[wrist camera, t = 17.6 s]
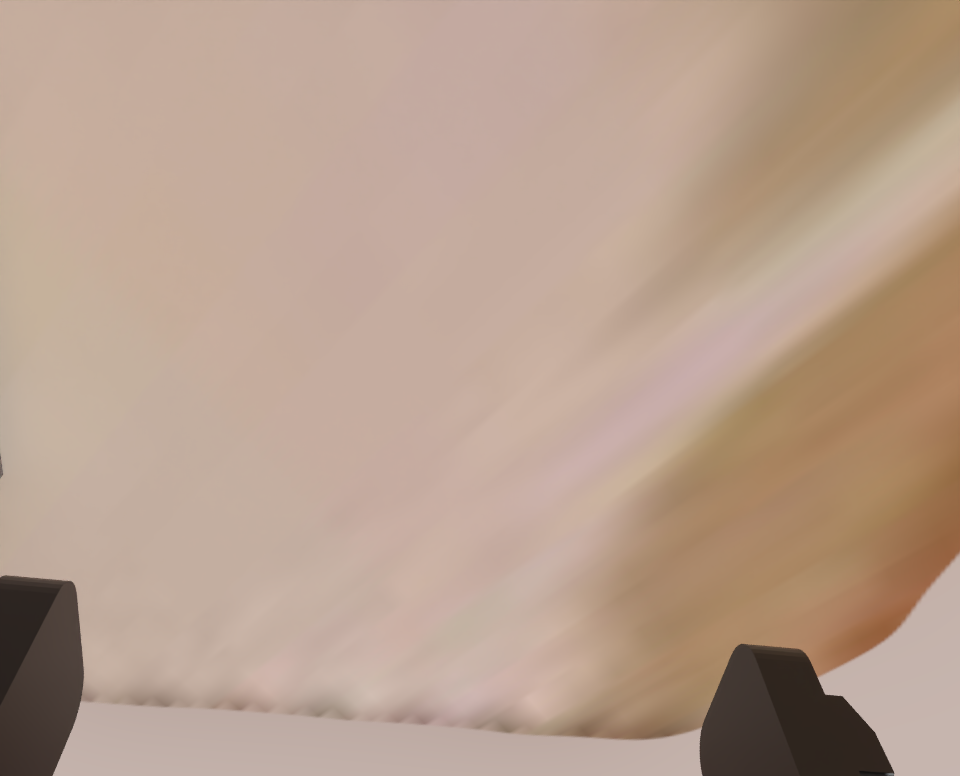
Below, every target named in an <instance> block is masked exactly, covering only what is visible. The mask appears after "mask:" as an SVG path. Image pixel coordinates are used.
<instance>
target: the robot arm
mask: <svg viewBox="0 0 960 776" xmlns="http://www.w3.org/2000/svg"><path fill="white" fill-rule="evenodd" d="M83 680H84V668H83V657H82V646H81V635H80V624H79V613H78V603H77V593H76V588H75V585H74V583H73V582H71V581H62V580H51V579H40V578H29V577H18V576H7V575H5V576H2V577H1V578H0V776H52V775H53V773H54V771H55V768H56V766H57V764H58V761H59V759H60V756H61V754H62V752H63V749H64V747H65V745H66V742H67V740H68V737H69V735H70V733H71V730H72V728H73V725H74V722H75V720H76V716H77V713H78V709H79V705H80V701H81V696H82V689H83ZM700 763H701V770H702V775H703V776H894V771H893V769H892V767H891V765H890V763H889V761H888V759H887V757H886V755H885V752H884V750H883V748H882V746H881V744H880V742H879V740H878V738H877V736H876V734H875V732H874V731H873V730H872V729H871V728H870V727H869V726H868V724H867V723H866V722H865V721H864V720H863V719H862V718H861V717H860V715H859V714H858V713H857V712H856V711H855V710H854V709H853V708H852V706H850V704H849V703H848V702H847V701H846V700H845V699H844V698H843V697H842V696H834V695H825V694H824V692H823V689H822V687H821V685H820V682H819V680H818V678H817V675H816V673H815V671H814V669H813V666H812V664H811V662H810V660H809V658H808V657H807V655H806V654H805V653H804V652H803V651H802V650H800V649H793V648H782V647H770V646H759V645H748V644H740V645H738V646H737V647H736V648H735V650H734V651H733V653H732V655H731V657H730V660H729V662H728V665H727V667H726V669H725V672H724V674H723V677H722V679H721V681H720V684H719V686H718V689H717V691H716V693H715V696H714V698H713V701H712V703H711V705H710V708H709V710H708V713H707V715H706V717H705V720H704V723H703V726H702V730H701V736H700Z"/></svg>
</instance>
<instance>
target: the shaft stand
mask: <svg viewBox="0 0 960 776" xmlns="http://www.w3.org/2000/svg"><path fill="white" fill-rule="evenodd" d="M2 475H3V471H2V464H1V456H0V478H1V476H2Z"/></svg>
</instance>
